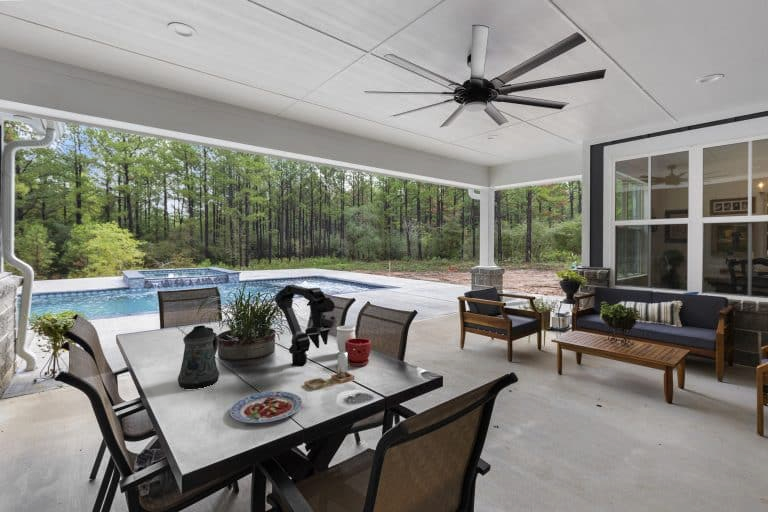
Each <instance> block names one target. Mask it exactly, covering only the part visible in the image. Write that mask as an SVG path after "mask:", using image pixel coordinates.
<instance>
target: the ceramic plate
mask: <svg viewBox="0 0 768 512" xmlns="http://www.w3.org/2000/svg"><path fill="white" fill-rule="evenodd" d="M261 401H263V402H261ZM303 401H304V400H303V399H302V397H301V396H299V395H298V394H296V393H293V392H289V391H281V390H280V391H278V390H274V391H272V390H271V391H263V392H258V393H255V394H251V395H248V396H246V397H243V398H241V399H239V400H238V401H236V402H235V403H233V405H232V406H231V407H230V409H229V414H230V416H231V417H232V418H234V420H237V421H239V422H242V423H249V424H250V423H251V424H259V423H262V424H263V423H269V422H270V423H272V422H275V421H278V420H279V421H280V420H282V419H285V418H287V417H290V416H292V415H294V414H295V413H296V412H299V410H300V409H301V408H302V407H303V403H304V402H303ZM258 402H260V403H258ZM254 403H255V404H254Z"/></svg>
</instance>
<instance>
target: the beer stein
mask: <svg viewBox="0 0 768 512" xmlns="http://www.w3.org/2000/svg"><path fill="white" fill-rule="evenodd" d="M182 340H183V344H184V350H183V354H182V355H183V356H182V360H181V361H182V362H181V367H180V371H179V375H178V376H177V383H178V386H180V387H181V388H184V389H183V390H185V389H197V390H199V389H198V388H203V389H205V388H204V387H207V386H210V385H213V384H214V385H216V384H217V383H218V382H219V378H220V372H219V369H218V366H217V362H216V361H217V360H216V354H217V351H218V347H219V343H220V341H219V337H218V335H217V333H216V332H214V328H212V327H208V326H207V327H206V325H203V324H202V325H201V324H200V325H196V326H193V329H191V331H190V332H188V333H187V334H186V335H184V337H183V339H182ZM217 381H218V382H217ZM216 382H217V383H216ZM215 383H216V384H215ZM214 385H213V386H214ZM180 387H179V388H180ZM210 387H211V386H210ZM181 388H180V389H181ZM207 388H208V387H207Z"/></svg>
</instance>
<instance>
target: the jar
mask: <svg viewBox="0 0 768 512" xmlns="http://www.w3.org/2000/svg"><path fill="white" fill-rule="evenodd" d="M355 330H356V327H355V326H354V325H340V326H337V327H336V331H337V332H336V344H337V350H338V352H342V351H344V352H346V350H345V342H346V340H348V339H353V338H356V332H355Z"/></svg>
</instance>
